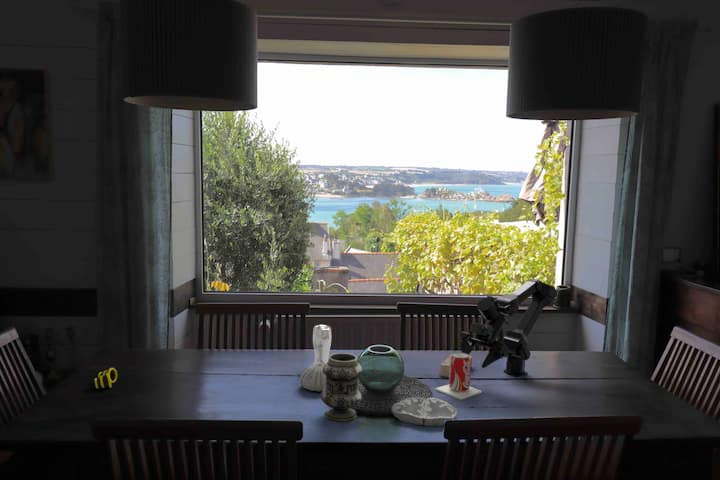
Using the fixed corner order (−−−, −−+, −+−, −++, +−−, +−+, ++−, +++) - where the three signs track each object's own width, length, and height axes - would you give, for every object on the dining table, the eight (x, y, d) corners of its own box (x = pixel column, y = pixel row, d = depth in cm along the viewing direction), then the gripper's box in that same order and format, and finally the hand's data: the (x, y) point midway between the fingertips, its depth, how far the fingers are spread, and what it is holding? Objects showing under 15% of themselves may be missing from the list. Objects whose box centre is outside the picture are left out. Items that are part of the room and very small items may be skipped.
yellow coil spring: (102, 382, 198) (99, 369, 197) (118, 379, 198) (115, 365, 198) (95, 392, 188) (91, 378, 187) (112, 389, 189) (108, 374, 188)
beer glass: (334, 365, 219) (335, 326, 218) (323, 370, 213) (324, 330, 212) (319, 362, 223) (320, 324, 222) (308, 366, 217) (309, 327, 216)
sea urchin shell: (309, 378, 204) (309, 356, 203) (345, 384, 200) (345, 361, 199) (293, 391, 192) (293, 367, 191) (330, 397, 187) (331, 373, 186)
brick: (461, 379, 207) (461, 367, 207) (438, 376, 211) (439, 363, 210) (472, 367, 222) (473, 355, 222) (451, 364, 226) (451, 352, 225)
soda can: (459, 394, 190) (461, 359, 189) (444, 388, 195) (445, 353, 194) (474, 390, 194) (475, 355, 193) (458, 384, 200) (460, 350, 199)
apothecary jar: (362, 423, 167) (364, 362, 165) (321, 423, 166) (322, 362, 164) (359, 407, 179) (360, 350, 177) (320, 407, 178) (321, 350, 176)
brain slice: (456, 408, 180) (457, 399, 180) (457, 431, 164) (457, 421, 163) (394, 403, 183) (394, 394, 183) (388, 425, 167) (388, 415, 166)
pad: (456, 383, 202) (456, 381, 202) (481, 392, 194) (481, 390, 194) (435, 390, 195) (435, 388, 195) (460, 399, 187) (460, 398, 187)
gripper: (462, 309, 207) (440, 344, 201) (505, 319, 193) (483, 357, 187) (475, 327, 213) (454, 362, 207) (518, 338, 198) (497, 376, 193)
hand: (471, 364), depth 198 cm, fingers open, 9 cm apart
